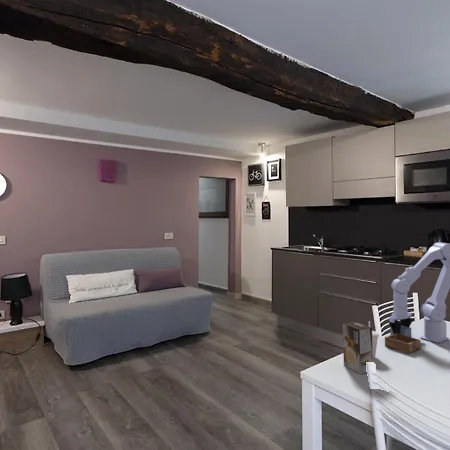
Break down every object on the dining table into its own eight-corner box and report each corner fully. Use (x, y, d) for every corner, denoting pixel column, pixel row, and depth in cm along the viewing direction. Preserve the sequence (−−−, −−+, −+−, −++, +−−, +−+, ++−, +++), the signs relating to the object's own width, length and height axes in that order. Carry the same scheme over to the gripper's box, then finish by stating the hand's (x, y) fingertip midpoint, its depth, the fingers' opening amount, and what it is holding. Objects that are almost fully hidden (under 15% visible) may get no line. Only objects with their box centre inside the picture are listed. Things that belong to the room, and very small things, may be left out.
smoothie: (375, 353, 144) (375, 319, 144) (381, 359, 138) (380, 324, 137) (359, 353, 145) (359, 319, 144) (364, 359, 138) (363, 324, 138)
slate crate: (396, 335, 164) (396, 324, 164) (411, 340, 158) (411, 327, 158) (390, 337, 162) (390, 326, 161) (405, 342, 156) (404, 330, 155)
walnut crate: (396, 342, 156) (396, 333, 156) (420, 349, 147) (420, 339, 147) (384, 346, 152) (384, 337, 152) (408, 354, 143) (408, 344, 143)
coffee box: (374, 371, 128) (373, 327, 127) (360, 374, 125) (359, 330, 125) (355, 361, 136) (354, 320, 136) (342, 364, 134) (341, 323, 133)
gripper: (401, 301, 167) (401, 329, 167) (382, 306, 159) (383, 335, 159) (415, 304, 161) (416, 333, 161) (397, 309, 153) (397, 340, 153)
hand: (400, 335), depth 160 cm, fingers open, 6 cm apart
